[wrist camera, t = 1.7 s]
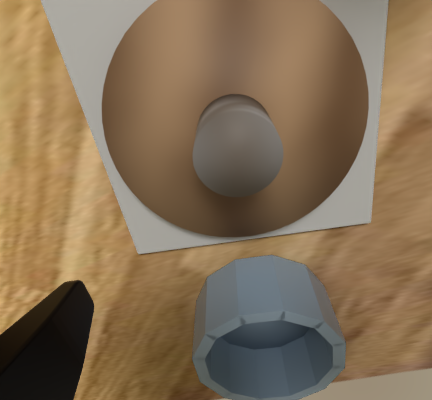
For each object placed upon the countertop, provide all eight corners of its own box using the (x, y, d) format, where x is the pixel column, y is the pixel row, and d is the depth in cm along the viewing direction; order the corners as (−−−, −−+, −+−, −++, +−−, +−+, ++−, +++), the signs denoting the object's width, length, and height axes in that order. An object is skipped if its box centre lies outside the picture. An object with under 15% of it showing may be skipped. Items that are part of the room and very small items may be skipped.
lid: (368, -57, 14) (427, -84, 10) (356, 211, 21) (387, 257, 17) (65, 9, 15) (13, 8, 11) (148, 241, 22) (133, 290, 18)
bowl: (323, 248, 23) (347, 303, 19) (324, 337, 28) (343, 397, 24) (186, 266, 24) (179, 322, 20) (210, 349, 29) (209, 408, 25)
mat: (391, -89, 14) (395, -92, 13) (368, 219, 22) (370, 222, 21) (40, -11, 15) (36, -12, 15) (139, 250, 23) (138, 254, 23)
